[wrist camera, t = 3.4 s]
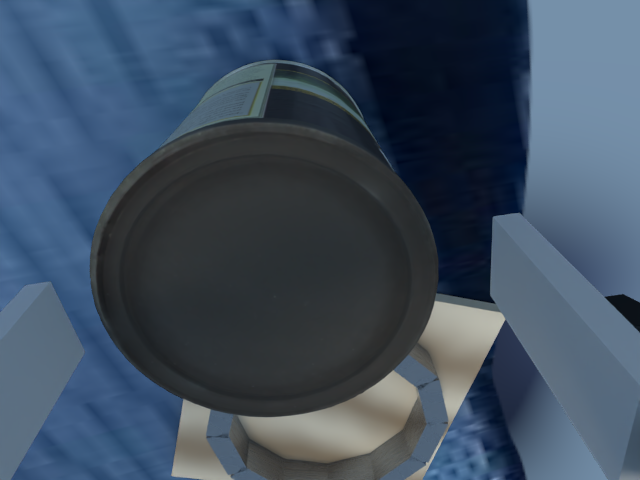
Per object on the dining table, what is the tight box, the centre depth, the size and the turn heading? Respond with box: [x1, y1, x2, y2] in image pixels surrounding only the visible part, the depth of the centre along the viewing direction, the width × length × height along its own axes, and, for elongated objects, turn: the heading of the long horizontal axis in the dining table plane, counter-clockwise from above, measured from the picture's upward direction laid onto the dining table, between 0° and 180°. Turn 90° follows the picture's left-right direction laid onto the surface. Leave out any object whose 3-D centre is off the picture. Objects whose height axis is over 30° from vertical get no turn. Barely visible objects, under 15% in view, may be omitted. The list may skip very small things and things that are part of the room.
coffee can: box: [90, 60, 438, 417], centre depth 20 cm, size 10×10×14 cm
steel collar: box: [206, 343, 449, 480], centre depth 33 cm, size 16×16×2 cm
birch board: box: [171, 293, 505, 480], centre depth 35 cm, size 20×20×1 cm
